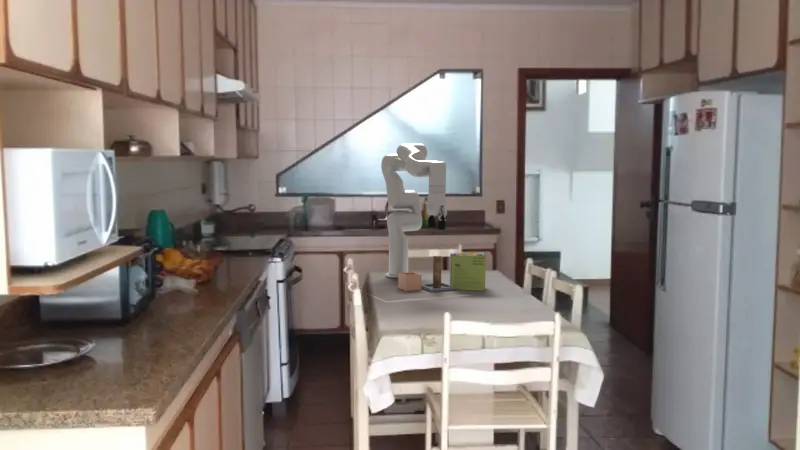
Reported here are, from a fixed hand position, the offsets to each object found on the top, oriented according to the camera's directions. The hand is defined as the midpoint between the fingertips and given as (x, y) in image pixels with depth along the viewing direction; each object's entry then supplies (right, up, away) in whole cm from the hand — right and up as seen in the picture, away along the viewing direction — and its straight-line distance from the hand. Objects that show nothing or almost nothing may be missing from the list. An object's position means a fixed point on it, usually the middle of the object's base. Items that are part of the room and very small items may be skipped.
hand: (436, 228), depth 321 cm
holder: (-12, -27, -1) cm, 30 cm away
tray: (0, -27, -1) cm, 27 cm away
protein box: (+14, -27, +5) cm, 31 cm away
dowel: (0, -26, -1) cm, 26 cm away
